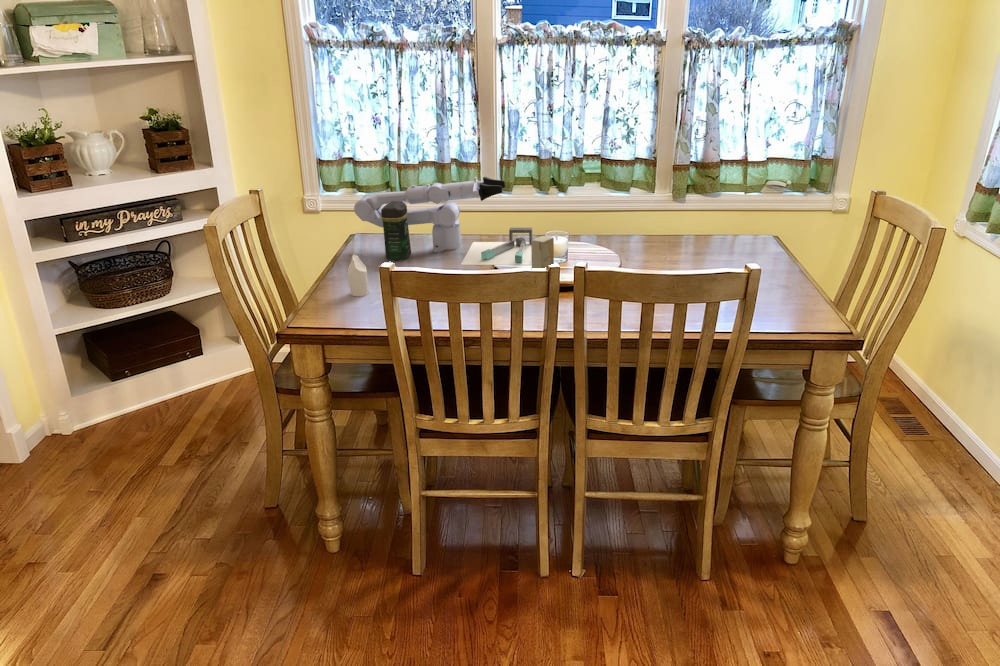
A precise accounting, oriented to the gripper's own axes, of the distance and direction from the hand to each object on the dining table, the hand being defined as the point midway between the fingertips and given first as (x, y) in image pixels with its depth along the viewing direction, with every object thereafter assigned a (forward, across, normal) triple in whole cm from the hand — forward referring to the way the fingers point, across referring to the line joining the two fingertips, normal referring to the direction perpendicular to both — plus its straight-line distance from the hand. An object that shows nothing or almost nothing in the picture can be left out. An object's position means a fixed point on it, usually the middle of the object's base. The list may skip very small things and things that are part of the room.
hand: (503, 186), depth 261 cm
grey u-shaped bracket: (+3, +4, +21) cm, 21 cm away
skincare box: (+13, -28, +23) cm, 39 cm away
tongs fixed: (+4, -8, +21) cm, 23 cm away
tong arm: (-3, -8, +20) cm, 22 cm away
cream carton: (-40, -43, +18) cm, 62 cm away
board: (-3, -8, +22) cm, 23 cm away
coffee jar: (-37, -9, +19) cm, 42 cm away
